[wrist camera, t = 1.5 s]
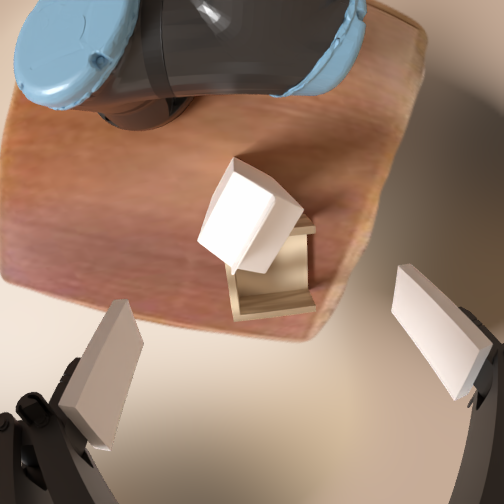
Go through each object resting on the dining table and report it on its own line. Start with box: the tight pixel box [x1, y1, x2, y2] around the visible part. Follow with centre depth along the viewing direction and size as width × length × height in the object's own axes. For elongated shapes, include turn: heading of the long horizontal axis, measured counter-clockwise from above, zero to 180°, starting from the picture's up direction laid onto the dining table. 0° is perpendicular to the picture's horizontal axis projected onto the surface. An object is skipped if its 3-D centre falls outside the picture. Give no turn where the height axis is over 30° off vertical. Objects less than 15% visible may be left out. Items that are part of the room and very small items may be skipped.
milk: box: [198, 157, 304, 275], centre depth 29 cm, size 6×6×22 cm
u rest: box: [225, 214, 316, 322], centre depth 41 cm, size 12×12×6 cm
